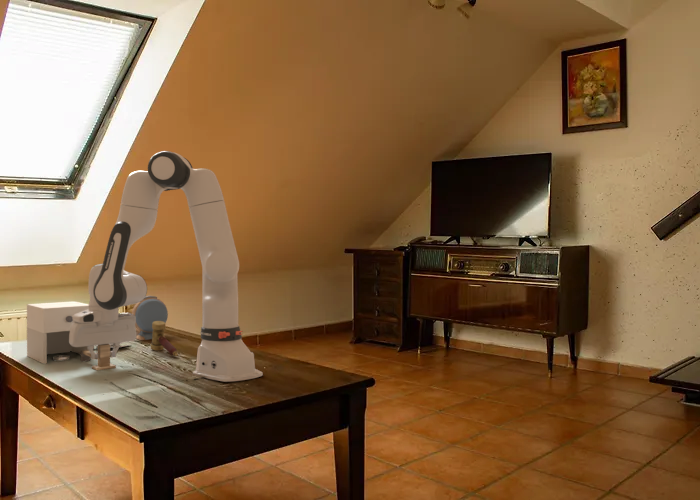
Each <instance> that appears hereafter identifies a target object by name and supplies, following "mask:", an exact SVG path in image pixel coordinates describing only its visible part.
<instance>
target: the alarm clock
mask: <svg viewBox="0 0 700 500" xmlns="http://www.w3.org/2000/svg"><path fill="white" fill-rule="evenodd" d="M168 312H169V311H168V308H167V305H166V304H165V303H164V301H162V300H161V299H159V298H158V297H157V296H155V295H146V296H145V298H144V299H143V300H142V301H141V302H138V303H136V304H134V305H133V308H132V310H131V314H134V315H135V317H136V323H135V327H136V330H137V329H138V330H139V333H138V334H136V340H139V341H145V340H147V341H148V340H152V335H153V328H152V323H153V322H154V321H163V322H165V323H166V324H167V320H168V316H169V313H168ZM131 316H133V315H131ZM164 337H165V338H167V337H166V335H164Z"/></svg>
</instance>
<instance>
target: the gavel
mask: <svg viewBox="0 0 700 500" xmlns="http://www.w3.org/2000/svg"><path fill="white" fill-rule="evenodd" d="M166 324H167V322H166V323H165V322H163V321H154V322H153V323H152V328H153V335H152V339H151V343H150V349H151V350H153V351H156V352H157V351H162V350H164V349H165V350H166V351H167V352H168V353H169V354H170V355H171V356H174V357H178V355H179V354H178V353H179V352H178V350H177V348H176V347H175V346H174V345H173V344H172V343H171V342H170V341H169V340H168V339H167V337H164V336H165V329H166Z"/></svg>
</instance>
